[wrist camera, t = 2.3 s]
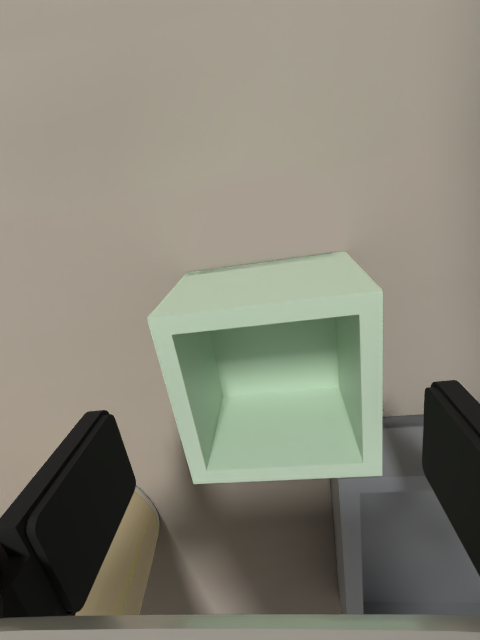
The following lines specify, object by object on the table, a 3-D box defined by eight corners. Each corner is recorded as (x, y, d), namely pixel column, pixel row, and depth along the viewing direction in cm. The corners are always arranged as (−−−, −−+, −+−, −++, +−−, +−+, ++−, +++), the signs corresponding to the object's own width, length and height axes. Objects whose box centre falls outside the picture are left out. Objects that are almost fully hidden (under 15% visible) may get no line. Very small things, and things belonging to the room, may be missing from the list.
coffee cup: (37, 552, 23) (-178, 898, 12) (12, 446, 19) (-331, 806, 8) (173, 572, 23) (80, 950, 12) (175, 468, 19) (39, 878, 8)
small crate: (186, 272, 14) (147, 318, 10) (345, 251, 13) (382, 290, 9) (214, 399, 17) (193, 484, 12) (350, 389, 16) (382, 475, 11)
